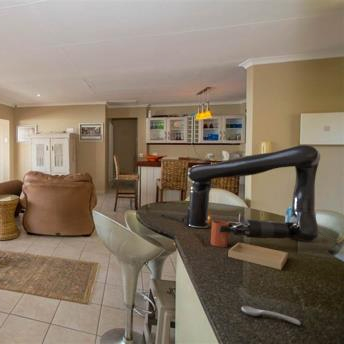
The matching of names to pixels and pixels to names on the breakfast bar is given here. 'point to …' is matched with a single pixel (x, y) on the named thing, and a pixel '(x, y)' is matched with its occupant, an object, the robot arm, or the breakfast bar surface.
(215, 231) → the cup
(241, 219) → the architectural model
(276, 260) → the tray
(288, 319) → the spoon
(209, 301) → the breakfast bar surface
